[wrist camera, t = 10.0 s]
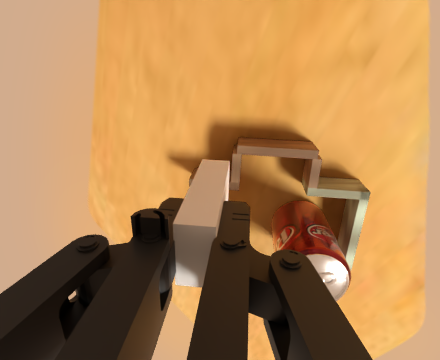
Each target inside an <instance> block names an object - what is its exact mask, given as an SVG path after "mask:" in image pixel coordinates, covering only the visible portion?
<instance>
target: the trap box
mask: <svg viewBox="0 0 440 360" xmlns="http://www.w3.org/2000/svg"><path fill="white" fill-rule="evenodd" d="M318 153H319V150H318V149H317V148H316V146H315V145H314V144H313V142H307V141H291V140H275V139H259V138H243V137H239V139H238V145H234V149H233V155H232V171H229V190H238V191H239V183H240V171H241V157H242V154H244V155H259V156H274V157H289V158H304V159H305V164H304V171H303V177H302V185H303V187H304V190H305V192H306V195H307V196H318V197H331V198H344V199H346V203H345V208H344V212H343V217H342V221H341V226H340V231H339V235H338V240H337V242H338V244H339V246H340V248H341V250H342V252H343V255H344V257H345V259H346V261H347V263H348V265H349V268H350V271H351V269H352V265H353V261H354V257H355V253H356V249H357V245H358V241H359V237H360V233H361V229H362V225H363V221H364V217H365V212H366V208H367V204H368V200H369V196H370V191H369V190H368V189H367V188H366V187H365V186H364V185H363V184H362V183H361V182H360V180H356V179H342V178H328V177H319V174H320V169H321V163H322V159H321V158H320V156H319V155H318ZM197 170H198V168H195V169H194V171H193V173H192V175H191V177H190V179H189V187H190V185H191V183H192V181H193V179H194V176H195V174H196V172H197Z"/></svg>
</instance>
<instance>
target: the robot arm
mask: <svg viewBox="0 0 440 360" xmlns="http://www.w3.org/2000/svg"><path fill="white" fill-rule="evenodd" d="M229 170H230V161H223V160H206V159H202V161H201V163H200V166H199V168H198V170H197V172H196V174H195V176H194V179H193V181H192V183H191V185H190V187H189V190H188V192H187V194H186V196H185V198H184V199H182V198H168V199H167V200H165V201H164V202H162V203H161V205H160V207H159V209H156V208H150V209H143V210H140V211H138V212H135V213H134V214H133V215H132V216H131V223H132V232H133V237H132V239H131V240H130V242H128V243H123V244H116V245H109V242H108V240H107V238H106V237H104V236H102V235H87V236H83V237H80V238H78V239H76V240H74V241H72V242H71V243H70V244H68V245H67V246H65V247H64V248H63V249H61V250H60V251H59V252H57V253H56V254H54V255H53V256H52V257H50V258H49V259H48V260H46V261H45V262H43V263H42V264H41V265H39V266H38V267H37V268H35V269H34V270H32V271H31V272H30V273H28V274H27V275H26V276H25V277H23V278H22V279H20V280H19V281H18V282H16V283H15V284H13V285H12V286H11V287H9V288H8V289H6V290H5V291H4V292H2V293H1V294H0V360H151V359H152V356H153V353H154V350H155V347H156V344H157V341H158V337H159V334H160V331H161V328H162V325H163V322H164V319H165V316H166V313H167V309H168V307H169V304H170V301H171V297H172V282H173V279H174V276H175V284H176V285H182V286H192V287H202V291H201V296H200V301H199V305H198V310H197V314H196V319H195V324H194V328H193V333H192V338H191V342H190V347H189V352H188V356H187V360H247V355H248V312H249V313H251V314H254V315H256V316H259V317H261V318H263V320H264V325H265V329H266V332H267V335H268V338H269V341H270V344H271V347H272V351H273V354H274V357H275V360H372V358H371V356H370V355H369V353H368V352H367V350H366V348H365V347H364V345H363V344H362V342H361V340H360V339H359V337H358V336H357V334H356V333H355V331H354V329H353V328H352V326H351V325H350V323H349V321H348V320H347V318H346V317H345V315H344V313H343V312H342V310H341V309H340V307H339V305H338V304H337V302H336V301H335V299H334V297H333V296H332V294H331V293H330V291H329V290H328V288H327V286H326V285H325V283H324V282H323V280H322V278H321V277H320V275H319V274H318V272H317V270H316V269H315V267H314V266H313V264H312V262H311V261H310V260H309V259H308V258H307V257H306V256H305V255H304V254H302V253H300V252H298V251H294V250H288V249H283V250H278V251H276V252H274V253H273V254H272V255H271V257H270V256H267V255H264V254H262V253H259V252H258V251H256V250H255V249H254V248H253V247H252V246H251V244H250V241H249V233H250V207H249V206H248V205H247V203H246V202H236V201H228V194H229ZM75 290H76V296H75V297H73V298H72V299H70V300H69V299H68V296H69V295H71V294H72V293H73V292H74V291H75Z"/></svg>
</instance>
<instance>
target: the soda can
mask: <svg viewBox="0 0 440 360" xmlns="http://www.w3.org/2000/svg"><path fill="white" fill-rule="evenodd" d="M271 229H272V237H273V245H274V252H276V251H278V250H283V249H288V250H294V251H298V252H300V253H302V254H304V255H305V256H306V257H307V258H308V259H309V260H310V261H311V262H312V264H313V266H314V267H315V269H316V270H317V272H318V274H319V275H320V277H321V278H322V280H323V282H324V283H325V285H326V286H327V288H328V290H329V291H330V293H331V294H332V296H333V297H334V299H335V301H337V300H338V299H340V298H341V297H342V296H343V295H344V293H345V292H346V291H347V289H348V287H349V285H350V280H351V271H350V268H349V265H348V263H347V261H346V259H345V257H344V255H343V252H342V250H341V248H340V246H339V244H338V242H337V240H336V238H335V236H334V234H333V232H332V230H331V228H330V225H329V223H328V221H327V219H326V217H325V215H324V213H323V212H322V210H321V209H320V208H319V207H318V206H316V205H315V204H313V203H310V202H307V201H292V202H289V203H286V204H284V205H283V206H281V207H280V208H279V209H278V210H277V211H276V212H275V214H274V216H273V218H272V221H271Z"/></svg>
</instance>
